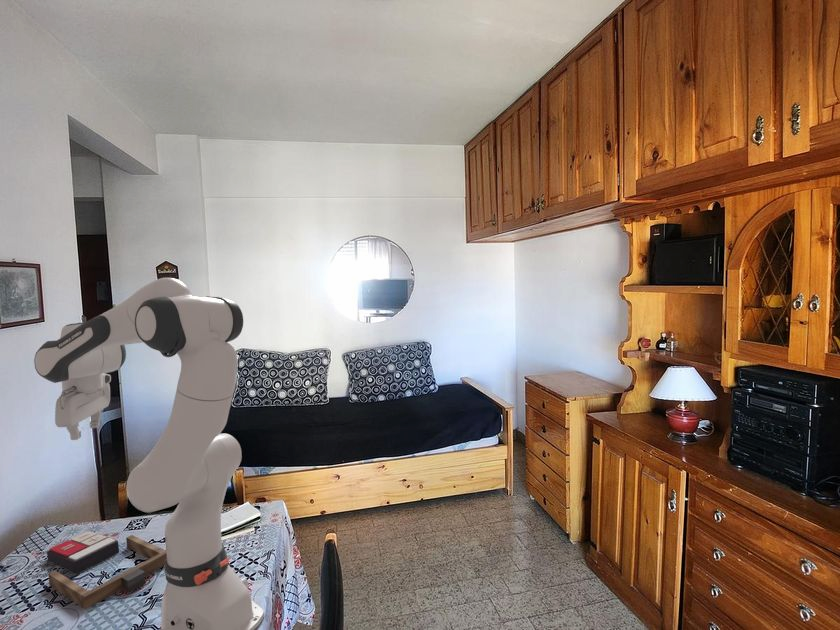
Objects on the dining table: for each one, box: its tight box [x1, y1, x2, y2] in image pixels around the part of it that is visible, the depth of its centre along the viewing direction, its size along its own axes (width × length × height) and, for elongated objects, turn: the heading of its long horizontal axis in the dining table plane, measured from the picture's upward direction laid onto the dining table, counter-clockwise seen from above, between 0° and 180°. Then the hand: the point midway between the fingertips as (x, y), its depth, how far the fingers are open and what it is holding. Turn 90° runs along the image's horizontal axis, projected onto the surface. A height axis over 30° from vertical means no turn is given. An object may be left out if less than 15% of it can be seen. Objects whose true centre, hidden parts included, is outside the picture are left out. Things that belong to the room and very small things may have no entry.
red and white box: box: [46, 530, 120, 575], centre depth 127 cm, size 11×4×15 cm
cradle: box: [48, 534, 167, 610], centre depth 117 cm, size 22×20×3 cm
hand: (85, 433), depth 122 cm, fingers open, 8 cm apart
